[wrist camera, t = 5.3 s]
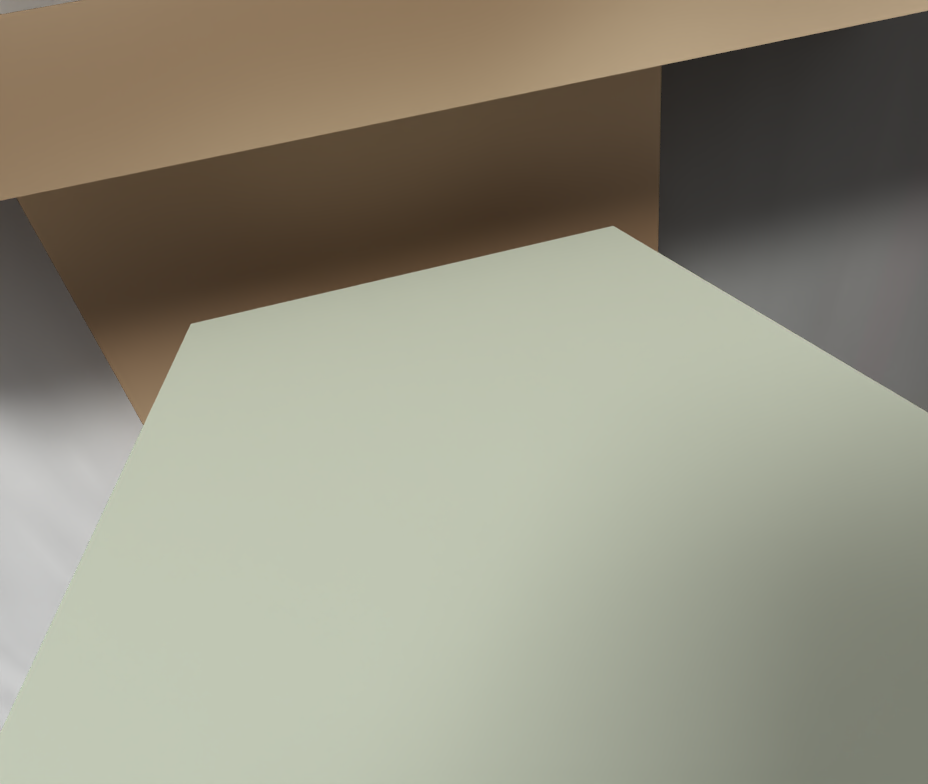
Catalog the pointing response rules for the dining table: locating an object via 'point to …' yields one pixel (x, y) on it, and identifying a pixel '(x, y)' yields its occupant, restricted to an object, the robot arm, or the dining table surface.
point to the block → (499, 547)
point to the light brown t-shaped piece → (336, 140)
